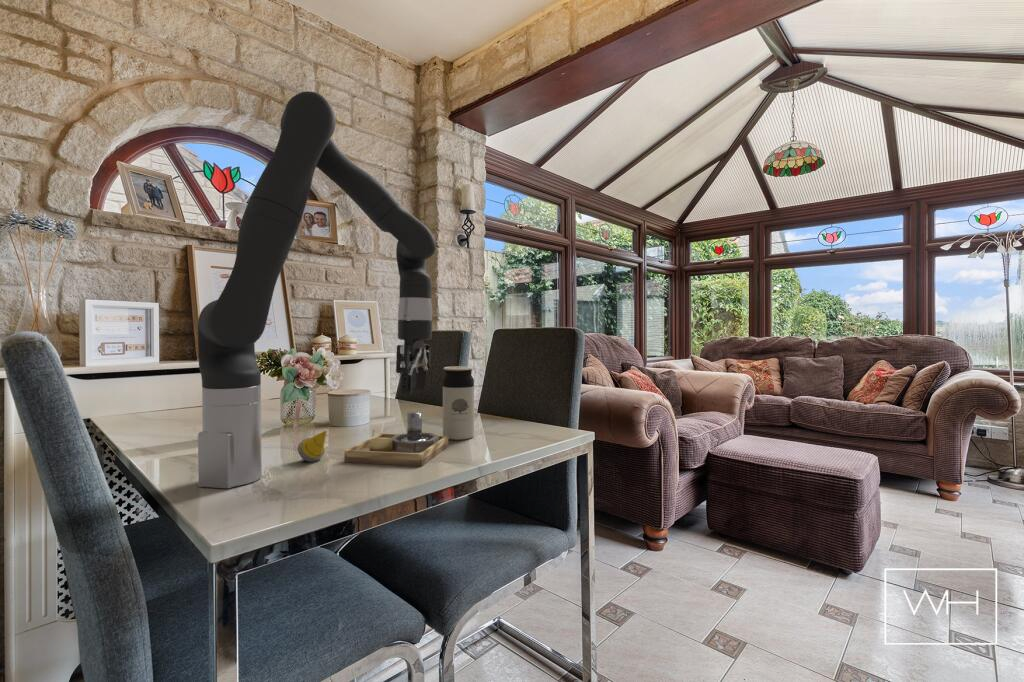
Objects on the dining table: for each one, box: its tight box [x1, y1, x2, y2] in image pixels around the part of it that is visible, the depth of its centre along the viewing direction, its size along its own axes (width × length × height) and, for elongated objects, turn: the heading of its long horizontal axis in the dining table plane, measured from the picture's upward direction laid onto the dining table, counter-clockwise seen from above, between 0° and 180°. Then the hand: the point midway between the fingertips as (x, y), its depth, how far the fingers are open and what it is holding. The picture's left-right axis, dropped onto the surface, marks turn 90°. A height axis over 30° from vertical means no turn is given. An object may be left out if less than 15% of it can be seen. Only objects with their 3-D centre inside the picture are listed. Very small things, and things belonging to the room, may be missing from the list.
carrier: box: [343, 432, 449, 467], centre depth 106 cm, size 17×17×4 cm
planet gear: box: [401, 411, 428, 442], centre depth 108 cm, size 6×6×8 cm
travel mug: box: [442, 365, 475, 441], centre depth 123 cm, size 8×8×18 cm
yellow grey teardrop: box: [297, 430, 327, 463], centre depth 100 cm, size 5×5×10 cm
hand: (414, 390), depth 108 cm, fingers open, 8 cm apart
